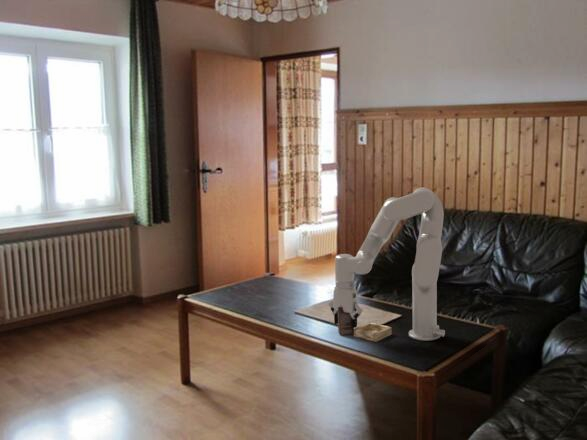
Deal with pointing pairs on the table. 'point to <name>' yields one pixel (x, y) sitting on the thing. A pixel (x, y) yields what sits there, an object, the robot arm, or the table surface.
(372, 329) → the housing
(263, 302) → the table surface
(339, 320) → the box
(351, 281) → the robot arm
